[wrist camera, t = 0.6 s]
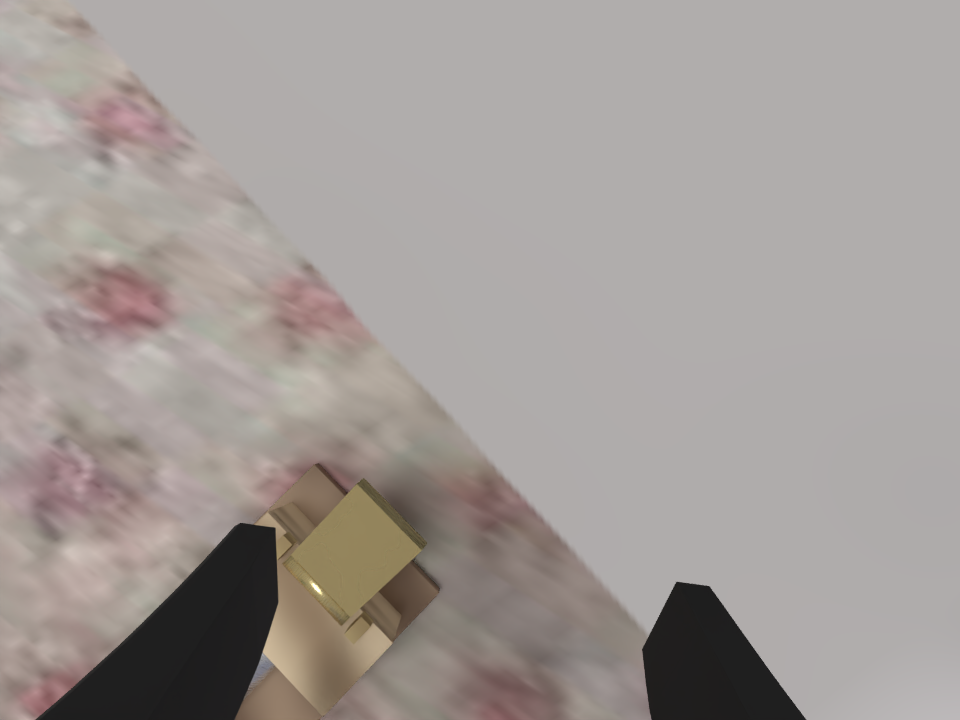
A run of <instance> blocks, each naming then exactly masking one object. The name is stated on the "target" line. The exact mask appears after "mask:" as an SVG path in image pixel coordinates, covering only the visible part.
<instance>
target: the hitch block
mask: <svg viewBox="0 0 960 720" xmlns="http://www.w3.org/2000/svg"><path fill="white" fill-rule="evenodd" d="M346 495H347V493H346V492H345V491H344V490H343V489H342V488H341V487H340V486H339V485H338V483H337V482H336V481H335V480H334V479H333V478H332V477H331V476H330V475H329V474H328V473H327V472H326V471H325V470H324V469H323V468H322V467H321V466H320V465H319V464H315V465H313V466H312V467H311V468H310V469H309V470H308V471H307V472H306V473H305V474H304V475H303V476H302V477H301V478H300V479H299V480H298V481H297V482H296V483H295V484H294V485H293V486H292V487H291V488H290V489H289V490H288V491H287V492H286V493H285V494H284V495H283V496H282V497H281V498H280V499H279V500H278V501H277V502H276V503H275V504H274V505H273V506H272V507H271V508H270V509H269V510H268V511H267V512H266V513H265V514H264V515H262V516H261V517H260V518H259V519H258V520H257V521H256V522H255V523H254V524H253V525H259V526H267V527H274V528H276V551H277V576H278V600H279V603H278V606H277V609H276V612H275V615H274V619H273V622H272V625H271V628H270V631H269V635H268V638H267V641H266V644H265V647H264V650H263V653H264V654H265V655H266V657H267V658H268V659H269V660H270V661H271V662H272V663H273V664H274V665H275V666H276V667H275V668H274V669H273V670H272V671H271V672H270V673H269V674H268V675H267V676H266V677H265V678H264V679H263V680H262V681H261V682H260V683H259V685H258V686H257V687H256V688H255V689H254V690H253V691H252V692H251V693H250V694H249V695H248V696H247V697H246V698H245V699H244V700H243V702H242V704H241V706H240V709H239V711H238V713H237V715H236V718H235V720H319V719H320V718H321V717H322V716H323V717H324V715H325V714H326V713H327V712H328V711H329V710H330V709H331V708H332V707H333V706H334V705H335V704H336V703H337V702H338V701H339V700H340V699H341V697H342V696H343V695H344V694H345V693H346V692H347V691H348V690H349V689H350V688H351V687H352V686H353V685H354V684H355V683H356V682H357V681H358V679H359V678H360V677H361V676H362V675H363V674H364V673H365V672H366V671H367V670H368V669H369V668H370V667H371V666H372V665H373V664H374V663H375V661H376V660H377V659H378V658H379V657H380V656H381V655H382V654H383V653H384V652H385V651H386V650H387V649H388V648H389V647H390V646H391V645H392V643H393V641H394V640H395V639H396V638H397V637H398V636H399V635H400V634H401V633H402V632H403V630H404V629H405V628H406V627H407V626H408V625H409V624H410V623H411V622H412V621H413V620H414V619H415V618H416V617H417V616H418V615H419V614H420V612H421V611H422V610H423V609H424V608H425V607H426V606H427V605H428V604H429V603H430V602H431V601H432V600H433V599H434V598H435V597H436V596H437V594H438V593H439V589H440V588H439V587H438V586H437V585H436V584H435V583H434V582H433V581H432V580H431V579H430V578H429V577H428V576H427V575H426V574H425V573H424V572H423V571H422V570H421V569H420V568H419V567H418V566H417V565H416V564H415V563H414V562H413V560H411V561H410V562H409V563H408V564H407V565H406V566H405V567H404V568H403V569H402V570H401V571H399V572H398V573H397V574H396V575H395V576H394V577H393V578H392V579H391V580H390V581H389V582H388V583H387V584H386V585H385V586H383V587H382V588H381V589H380V590H379V591H378V592H377V593H376V594H375V595H374V596H373V597H372V598H371V599H370V600H368V601H367V602H366V603H365V604H364V605H363V606H362V607H361V608H360V609H359V610H358V611H357V612H356V613H355V614H354V615H352V616H351V617H350V618H349V619H348V620H347V621H346V622H345V623H344V624H343V625H342V626H340V625H339V624H338V623H337V621H336V620H335V619H334V618H333V617H332V616H331V615H330V614H329V613H328V612H327V611H326V610H325V609H324V608H323V607H322V606H321V605H320V604H319V603H318V602H317V600H316V599H315V598H314V597H313V596H312V595H311V594H310V593H309V592H308V591H307V590H306V589H305V588H304V587H303V586H302V585H301V584H300V583H299V582H298V581H297V579H296V578H295V577H294V576H293V575H292V574H291V573H290V572H289V571H288V570H287V569H286V568H285V567H284V566H283V565H282V564H283V562H284V561H285V560H286V559H287V558H288V557H289V556H290V555H291V554H292V553H293V552H294V551H295V550H296V549H297V548H298V547H299V546H300V544H301V543H302V542H303V541H304V540H305V539H306V538H307V537H308V536H309V535H310V534H311V533H312V532H313V530H314V529H315V528H316V527H317V526H318V525H319V524H320V523H321V522H322V521H323V520H324V519H325V518H326V517H327V515H328V514H329V513H330V512H331V511H332V510H333V509H334V508H335V507H336V506H337V505H338V504H339V503H340V501H341V500H342V499H343V498H344V497H345V496H346Z"/></svg>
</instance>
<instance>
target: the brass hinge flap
mask: <svg viewBox="0 0 960 720" xmlns="http://www.w3.org/2000/svg"><path fill="white" fill-rule="evenodd" d="M426 544H427V542H426V541H425V540H424V539H423V538H422V537H421V536H420V535H419V534H418V533H417V532H416V531H415V530H414V529H413V528H412V527H411V526H410V525H409V524H408V523H407V522H406V521H405V520H404V519H403V518H402V517H401V515H400V514H399V513H398V512H397V511H396V510H395V509H394V508H393V507H392V506H391V505H390V504H389V503H388V502H387V501H386V500H385V499H384V498H383V497H382V496H381V495H380V494H379V493H378V492H377V491H376V490H375V489H374V488H373V487H372V486H371V485H370V484H369V483H368V482H367V481H366V480H365V479H364V478H363V479H362V480H361V481H360V482H359V483H357V484H356V485H355V486H354V487H353V489H352V490H351V491H350V492H349V493H348V494H347V495H346V496H345V497H344V498H343V499H342V500H341V501H340V503H339V504H338V505H337V506H336V507H335V508H334V509H333V510H332V511H331V512H330V513H329V514H328V515H327V517H326V518H325V519H324V520H323V521H322V522H321V523H320V524H319V525H318V526H317V527H316V528H315V529H314V530H313V532H312V533H311V534H310V535H309V536H308V537H307V538H306V539H305V540H304V541H303V542H302V543H301V544H300V546H299V547H298V548H297V549H296V550H295V551H294V552H293V553H292V554H291V555H290V556H289V557H288V558H287V559H286V560H285V561H284V562H283V564H282V565H283V566H284V567H285V568H286V569H287V570H288V571H289V572H290V573H291V574H292V575H293V576H294V577H295V578H296V579H297V581H298V582H299V583H300V584H301V585H302V586H303V587H304V588H305V589H306V590H307V591H308V592H309V593H310V594H311V595H312V596H313V597H314V598H315V599H316V600H317V602H318V603H319V604H320V605H321V606H322V607H323V608H324V609H325V610H326V611H327V612H328V613H329V614H330V615H331V616H332V617H333V618H334V619H335V620H336V621H337V623H338V624H339V625H340V626H342V625H343V624H344V623H345V622H346V621H347V620H348V619H349V618H350V617H351V616H352V615H354V614H355V613H356V612H357V611H358V610H359V609H360V608H361V607H362V606H363V605H364V604H365V603H366V602H367V601H368V600H370V599H371V598H372V597H373V596H374V595H375V594H376V593H377V592H378V591H379V590H380V589H381V588H382V587H383V586H385V585H386V584H387V583H388V582H389V581H390V580H391V579H392V578H393V577H394V576H395V575H396V574H397V573H398V572H399V571H401V570H402V569H403V568H404V567H405V566H406V565H407V564H408V563H409V562H410V561H411V560H412V559H413V558H414V557H415V556H417V555H418V554H419V553H420V552H421V551H422V550H423V548H424V547H425V546H426Z"/></svg>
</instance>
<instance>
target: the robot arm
mask: <svg viewBox="0 0 960 720" xmlns="http://www.w3.org/2000/svg"><path fill="white" fill-rule="evenodd" d="M278 603H279V600H278V576H277V551H276V528H274V527H267V526H259V525H252V524H245V523H240V524H238V525H236V526H235V527H234V528H233V529H232V530H231V531H230V532H229V533H228V534H227V535H226V537H225V538H224V539H223V540H222V541H221V542H220V543H219V544H218V545H217V547H216V548H215V549H214V550H213V551H212V552H211V553H210V554H209V555H208V556H207V557H206V559H205V560H204V561H203V562H202V563H201V564H200V565H199V566H198V567H197V568H196V569H195V570H194V571H193V572H192V573H191V574H190V575H189V577H188V578H187V579H186V580H185V581H184V582H183V583H182V584H181V585H180V586H179V587H178V588H177V589H176V590H175V591H174V592H173V593H172V594H171V595H170V596H169V597H168V598H167V599H166V600H165V601H164V602H163V603H162V604H161V605H160V606H159V607H158V608H157V609H156V610H155V611H154V612H153V613H152V614H151V615H150V616H149V617H148V618H147V619H146V620H145V621H144V622H143V623H142V624H141V625H140V626H139V627H138V628H137V629H136V630H135V631H134V632H133V633H132V634H131V635H129V636H128V637H127V638H126V639H125V640H124V641H123V642H122V643H121V644H120V645H119V646H118V647H117V648H116V649H114V650H113V651H112V652H111V653H110V654H109V655H108V656H107V657H106V658H105V659H104V660H102V661H101V662H100V663H99V664H98V665H97V666H96V667H95V668H94V669H93V670H91V671H90V672H89V673H88V674H87V675H86V676H85V677H84V678H83V679H82V680H81V681H79V682H78V683H77V684H76V685H75V686H74V687H73V688H72V689H71V690H69V691H68V692H67V693H66V694H65V695H64V696H63V697H61V698H60V699H59V700H58V701H57V702H56V703H54V704H53V705H52V706H51V707H50V708H49V709H48V710H46V711H45V712H44V713H43V714H42V715H41V716H39V717H38V718H37V719H36V720H235V718H236V715H237V713H238V711H239V709H240V706H241V704H242V702H243V699H244V697H245V695H246V692H247V690H248V688H249V685H250V683H251V681H252V679H253V676H254V674H255V672H256V669H257V667H258V664H259V662H260V659H261V656H262V653H263V650H264V647H265V644H266V641H267V638H268V635H269V631H270V628H271V625H272V622H273V619H274V615H275V612H276V609H277V606H278ZM642 651H643V660H644V669H645V678H646V687H647V694H648V701H649V709H650V714H651V719H652V720H806V719H805V718H804V716H803V715H802V714H801V712H800V711H799V710H798V708H797V707H796V706H795V704H794V703H793V702H792V700H791V699H790V698H789V696H788V695H787V694H786V692H785V691H784V690H783V688H782V687H781V686H780V685H779V683H778V681H777V680H776V679H775V677H774V676H773V675H772V673H771V672H770V670H769V669H768V668H767V666H766V665H765V664H764V662H763V661H762V659H761V658H760V657H759V655H758V654H757V653H756V651H755V650H754V648H753V647H752V646H751V644H750V643H749V641H748V640H747V638H746V637H745V636H744V634H743V633H742V631H741V630H740V629H739V627H738V626H737V624H736V623H735V621H734V620H733V619H732V617H731V616H730V615H729V613H728V612H727V610H726V609H725V608H724V606H723V605H722V603H721V602H720V601H719V599H718V598H717V596H716V595H715V593H714V592H713V591H712V589H711V588H710V587H709V586H704V585H696V584H689V583H682V582H676V584H675V586H674V588H673V590H672V592H671V594H670V596H669V598H668V600H667V602H666V603H665V606H664V607H663V609H662V612H661V613H660V615H659V617H658V619H657V621H656V623H655V625H654V627H653V629H652V631H651V633H650V635H649V637H648V639H647V641H646V643H645V645H644V647H643V649H642Z"/></svg>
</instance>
